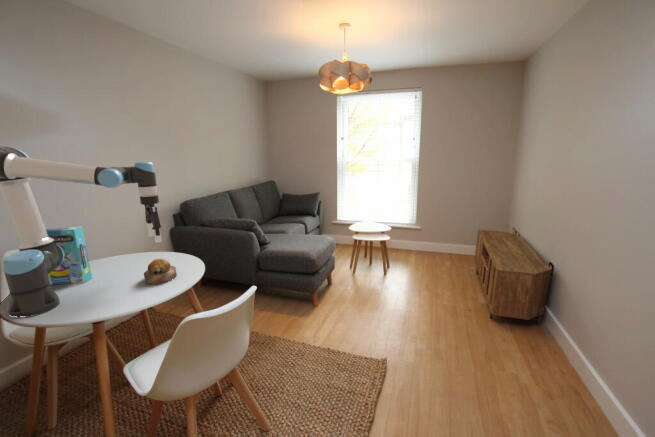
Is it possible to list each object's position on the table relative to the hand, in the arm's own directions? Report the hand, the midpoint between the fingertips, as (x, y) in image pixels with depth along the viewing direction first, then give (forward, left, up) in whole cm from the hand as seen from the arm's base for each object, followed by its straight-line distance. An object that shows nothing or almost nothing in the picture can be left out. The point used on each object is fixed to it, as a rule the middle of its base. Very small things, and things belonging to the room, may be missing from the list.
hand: (155, 239), depth 147 cm
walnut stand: (0, 0, -21) cm, 21 cm away
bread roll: (0, 0, -17) cm, 17 cm away
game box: (-36, +28, -21) cm, 50 cm away
